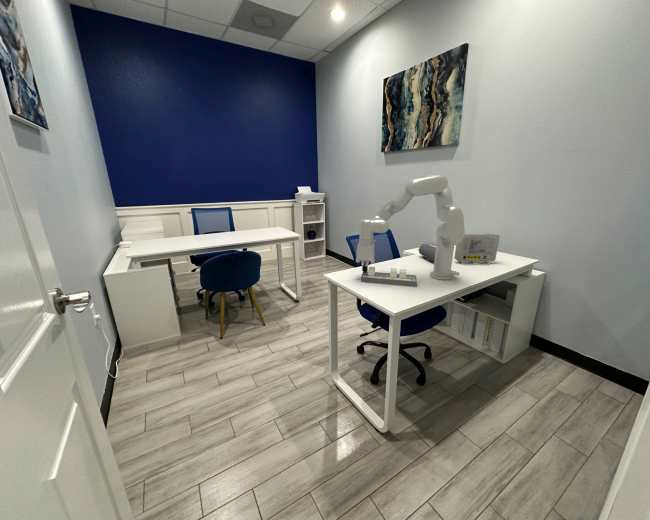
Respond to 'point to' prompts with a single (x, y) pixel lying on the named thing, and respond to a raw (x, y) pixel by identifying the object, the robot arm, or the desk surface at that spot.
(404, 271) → the slider
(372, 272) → the slider
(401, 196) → the robot arm
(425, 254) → the bluetooth speaker
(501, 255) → the desk surface
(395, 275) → the slider middle
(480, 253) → the network device
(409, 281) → the switch console
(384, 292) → the desk surface
